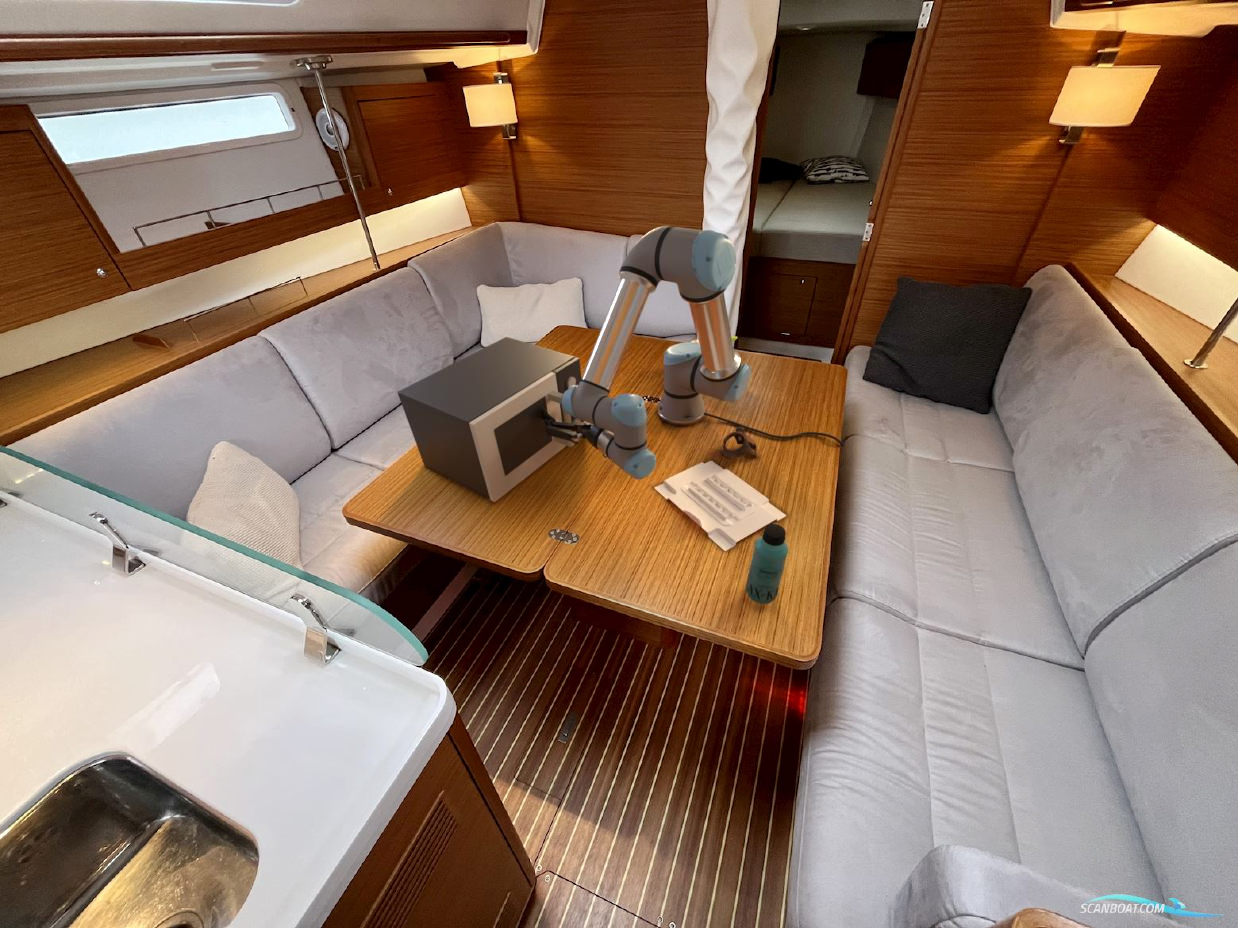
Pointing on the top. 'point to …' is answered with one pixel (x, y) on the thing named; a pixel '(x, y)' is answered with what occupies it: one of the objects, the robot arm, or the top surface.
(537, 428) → the microwave door
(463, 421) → the microwave
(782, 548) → the beverage bottle
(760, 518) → the tray
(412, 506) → the top surface
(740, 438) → the brown looped piece
